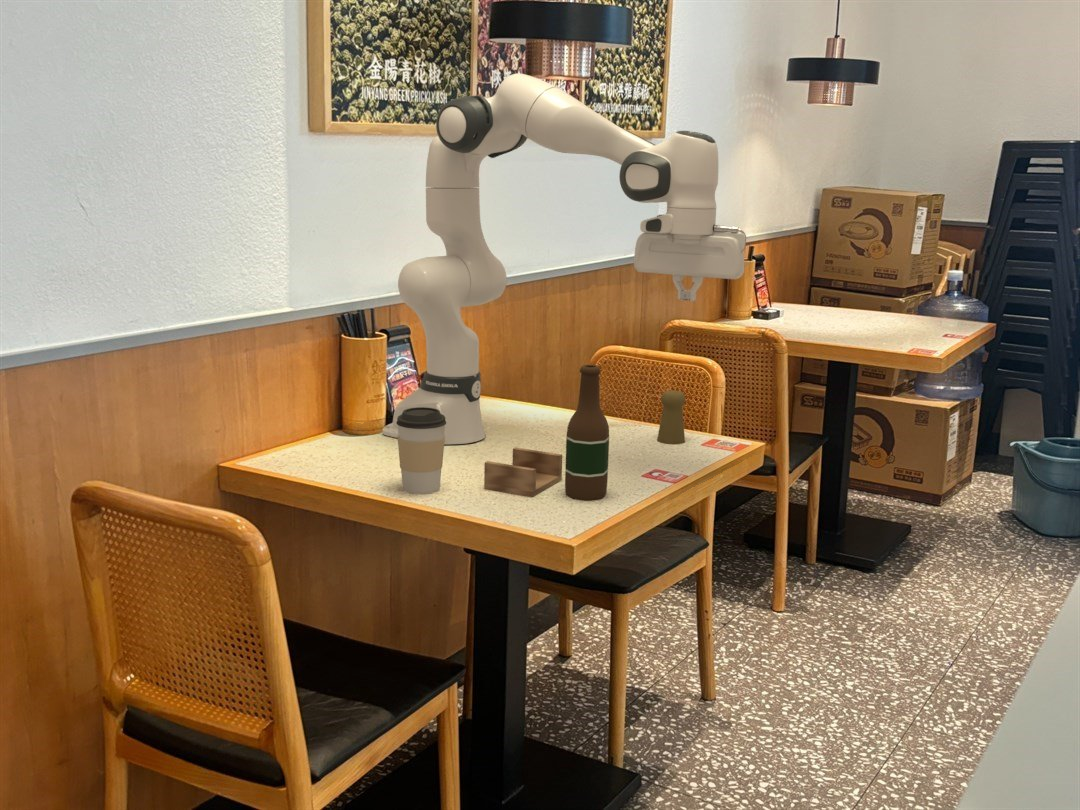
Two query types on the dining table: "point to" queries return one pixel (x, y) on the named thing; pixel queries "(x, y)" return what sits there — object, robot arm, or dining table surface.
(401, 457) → the coffee cup
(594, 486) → the beer bottle
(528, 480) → the walnut rest
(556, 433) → the dining table surface
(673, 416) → the cork
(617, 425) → the dining table surface
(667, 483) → the dining table surface
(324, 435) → the dining table surface
